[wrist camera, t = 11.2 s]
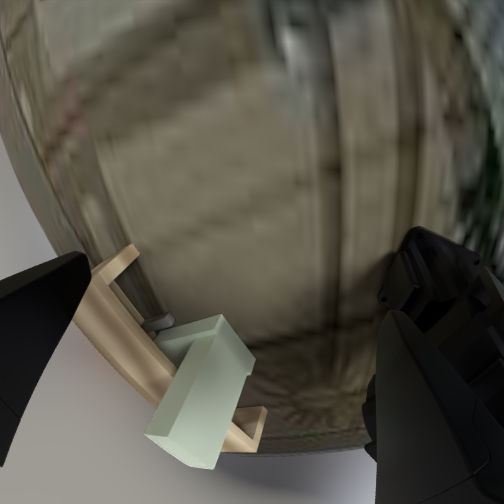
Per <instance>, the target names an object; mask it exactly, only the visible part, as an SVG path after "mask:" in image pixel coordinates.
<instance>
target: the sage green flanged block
mask: <svg viewBox="0 0 504 504" xmlns="http://www.w3.org/2000/svg"><path fill="white" fill-rule="evenodd" d="M153 342H154V343H155V344H156V346H157V347H158V348H159V349H160V350H161V351H162V352H163V354H164V355H165V356H166V357H167V358H168V359H169V360H170V361H171V362H172V363H173V364H174V366H175V367H176V368H177V369H178V371H177V373H176V375H175V376H174V378H173V380H172V382H171V384H170V386H169V388H168V389H167V391H166V393H165V395H164V397H163V399H162V401H161V402H160V404H159V406H158V408H157V410H156V412H155V414H154V416H153V417H152V419H151V421H150V423H149V425H148V427H147V429H146V431H145V432H144V435H145V436H147V437H148V438H149V439H151V440H152V441H153V442H155V443H156V444H157V445H159V446H160V447H161V448H163V449H164V450H165V451H167V452H168V453H170V454H171V455H173V456H174V457H175V458H177V459H179V460H180V461H181V462H183V463H184V464H186V465H187V466H190V467H197V468H205V469H214V467H215V465H216V462H217V459H218V457H219V454H220V451H221V448H222V445H223V443H224V440H225V437H226V434H227V431H228V429H229V426H230V423H231V420H232V417H233V414H234V411H235V409H236V406H237V403H238V400H239V397H240V394H241V391H242V388H243V385H244V382H245V379H246V376H247V375H251V373H252V370H253V366H254V363H255V360H256V359H255V357H254V356H253V355H252V353H251V352H250V351H249V350H248V348H247V347H246V346H245V344H244V343H243V342H242V340H241V339H240V338H239V336H238V335H237V334H236V332H235V331H234V330H233V328H232V327H231V326H230V324H229V323H228V322H227V320H226V319H225V318H224V316H223V315H222V314H219V315H215V316H212V317H209V318H205V319H202V320H198V321H195V322H191V323H188V324H184V325H181V326H177V327H174V328H170V329H166V330H163V331H160V332H159V334H158V335H157V337H156V338H155V340H154V341H153Z"/></svg>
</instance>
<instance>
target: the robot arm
mask: <svg viewBox="0 0 504 504" xmlns="http://www.w3.org/2000/svg"><path fill="white" fill-rule="evenodd" d="M419 232H422V235H421V236H419V237H417V234H418V233H419ZM476 259H477V261H476V262H475V263H474V261H475V260H476ZM481 263H482V258H481V257H480V255H479V254H477V253H475V252H473V251H471V250H469V249H467V248H465V247H463V246H461V245H459V244H457V243H455V242H453V241H451V240H449V239H447V238H445V237H443V236H441V235H439V234H437V233H434V232H432V231H430V230H428V229H426V228H423V227H421V226H418V227H416V228H414V229H413V231H412V233H411V235H410V237H409V239H408V241H407V243H406V245H405V247H404V248H403V250H402V251H400V252H399V253H398V254H397V256H396V258H395V260H394V262H393V263H392V265H391V267H390V269H389V271H388V272H387V274H386V276H385V278H384V280H383V283H384V285H383V286H382V288H381V290H380V291H379V293H378V295H377V299H378V302H379V304H381V305H384V306H387V307H389V311H388V313H387V314H386V316H385V318H384V321H383V323H382V325H381V327H380V329H379V331H378V334H377V352H376V374H374V375H373V377H372V379H371V381H370V383H369V384H368V390H367V397H366V402H365V403H363V405H362V414H363V420H364V424H365V427H366V430H367V433H368V435H369V437H370V439H371V441H372V442H370V443H368V444H366V445H365V446H364V449H365V451H366V452H367V453H368V454H369V455H370V456H371V457H372V458H373V459H374V460H375V461H376V463H377V475H376V496H375V497H376V498H375V504H504V286H503V285H502V284H501V282H500V281H499V280H498V279H497V278H496V277H495V276H494V275H493V274H492V273H491V272H490V271H489V270H488V268H487V267H486V266H484V267H483V268H482V269H481V271H480V272H479V275H478V277H477V278H476V279H475V277H474V275H475V274H476V272H477V270H478V269H479V267H480V265H481ZM91 279H92V274H91V270H90V266H89V261H88V257H87V255H86V254H85V253H82V252H78V251H74V252H71V253H68V254H65V255H63V256H60V257H57V258H55V259H52V260H50V261H47V262H44V263H42V264H39V265H37V266H34V267H32V268H29V269H27V270H24V271H22V272H19V273H17V274H14V275H12V276H10V277H7V278H5V279H2V280H0V467H3V465H4V463H5V460H6V457H7V454H8V451H9V448H10V446H11V443H12V441H13V438H14V436H15V433H16V430H17V428H18V426H19V423H20V421H21V418H22V416H23V413H24V411H25V409H26V407H27V404H28V402H29V400H30V398H31V395H32V394H33V391H34V389H35V387H36V385H37V383H38V381H39V379H40V377H41V375H42V373H43V371H44V369H45V367H46V365H47V363H48V361H49V360H50V358H51V356H52V354H53V352H54V350H55V348H56V347H57V345H58V343H59V341H60V340H61V338H62V336H63V334H64V333H65V331H66V329H67V327H68V326H69V324H70V322H71V320H72V319H73V317H74V315H75V313H76V310H77V308H78V306H79V304H80V302H81V300H82V298H83V296H84V294H85V292H86V290H87V288H88V286H89V284H90V282H91ZM382 297H386V298H385V299H382Z"/></svg>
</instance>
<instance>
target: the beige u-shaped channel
mask: <svg viewBox="0 0 504 504" xmlns="http://www.w3.org/2000/svg"><path fill="white" fill-rule="evenodd" d="M139 255H140V253H139V252H138V250H137V249H136V247H135V246H134V245H133V243H131V244H130V245H128V246H127V247H125V248H123V249H122V250H120V251H119V252H117V253H116V254H114V255H113V256H111V257H110V258H108V259H107V260H105V261H104V262H102V263H101V264H99V265H98V266H96V267H95V268H93V269H92V270H91V274H92V279H91V282H90V284H89V286H88V288H87V290H86V292H85V294H84V296H83V298H82V300H81V302H80V304H79V306H78V308H77V310H76V313H75V315H74V317H73V319H72V320H73V321H74V323H75V324H76V325H77V326H78V328H79V329H80V330H81V331H82V333H83V334H84V335H85V336H86V337H87V338H88V340H89V341H90V342H91V343H92V344H93V345H94V347H95V348H96V349H97V350H98V351H99V352H100V353H101V354H102V355H103V357H104V358H105V359H106V360H107V361H108V362H109V363H110V364H111V365H112V366H113V367H114V368H115V369H116V370H117V371H118V372H119V373H120V374H121V376H122V377H123V378H124V379H125V380H127V382H128V383H130V384H131V385H132V386H133V387H134V388H135V389H136V390H137V391H138V392H139V393H140V394H141V395H142V396H143V397H144V398H145V399H146V400H147V401H148V402H150V403H151V404H152V405H153V406H154V407H155V408H156V409H157V408H158V406H159V404H160V402H161V401H162V399H163V397H164V395H165V393H166V391H167V389H168V388H169V386H170V384H171V382H172V380H173V378H174V376H175V375H176V373H177V371H178V369H177V368H176V367H175V366H174V364H173V363H172V362H171V361H170V360H169V359H168V358H167V357H166V356H165V355H164V354H163V352H162V351H161V350H160V349H159V348H158V347H157V346H156V344H155V343H154V342H153V341H154V340H155V338H156V337H157V334H156V333H155V332H154V331H156V330H160V329H164V328H167V327H171V326H172V325H173V323H174V321H175V320H176V319H175V318H174V316H173V315H172V314H171V313H170V312H167V313H164V314H161V315H158V316H155V317H152V318H149V319H146V320H144V318H143V317H142V316H141V315H140V313H139V312H138V311H137V310H136V308H135V307H134V306H133V305H132V303H131V302H130V301H129V299H128V298H127V297H126V296H125V294H124V293H123V292H122V290H121V289H120V288H119V286H118V285H117V284H116V282H115V281H114V279H115V278H116V277H117V276H118V275H119V274H120V273H121V272H122V271H123V270H124V269H125V268H126V267H127V266H128V265H130V264H131V263H132V262H133V261H134V260H135V259H136V258H137V257H138V256H139ZM266 415H267V410H266V409H265V408H264V406H255V407H245V408H236V409H235V411H234V414H233V417H232V420H231V423H230V426H229V429H228V431H227V434H226V437H225V440H224V443H223V445H222V448H221V452H257V448H258V445H259V441H260V438H261V434H262V430H263V426H264V423H265V419H266Z"/></svg>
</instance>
